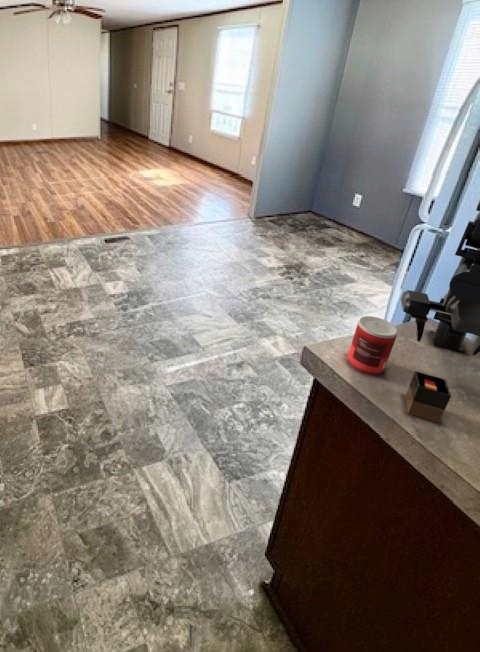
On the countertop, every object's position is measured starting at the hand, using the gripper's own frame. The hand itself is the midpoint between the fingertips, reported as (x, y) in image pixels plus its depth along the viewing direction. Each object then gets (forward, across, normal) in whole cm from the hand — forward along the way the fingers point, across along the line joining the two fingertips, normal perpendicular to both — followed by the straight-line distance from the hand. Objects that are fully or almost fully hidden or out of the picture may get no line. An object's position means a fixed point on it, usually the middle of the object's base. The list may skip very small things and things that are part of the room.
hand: (445, 347), depth 87 cm
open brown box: (+8, -2, -7) cm, 11 cm away
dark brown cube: (+12, -2, -7) cm, 14 cm away
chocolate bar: (+8, -2, -7) cm, 11 cm away
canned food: (+12, -11, +4) cm, 17 cm away
